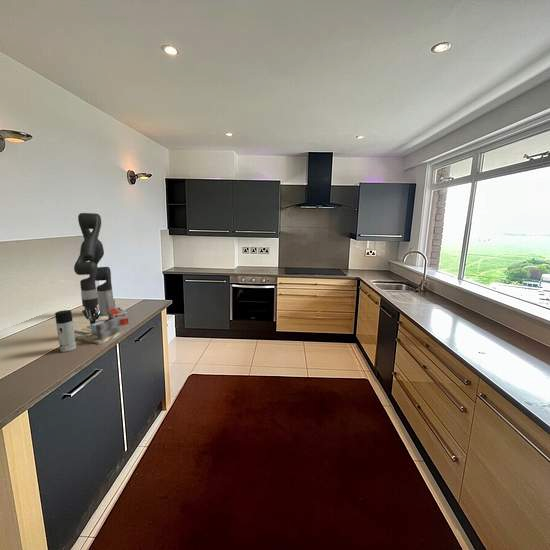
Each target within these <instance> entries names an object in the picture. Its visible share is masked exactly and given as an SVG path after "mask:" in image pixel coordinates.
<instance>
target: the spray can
mask: <svg viewBox="0 0 550 550" xmlns="http://www.w3.org/2000/svg"><path fill="white" fill-rule="evenodd" d="M54 316H55V323H56V330H57V337H58V338H57V339H58V343H59V350H60V352H61V353H66V352H67V353H68V352H72V351H74V350H76V349H77V344H76V343H77V342H76V339H75V335H74V330H75V329H74V320H73V314H72V310H71V309H67V310H59V311H56V312H55V314H54Z"/></svg>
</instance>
